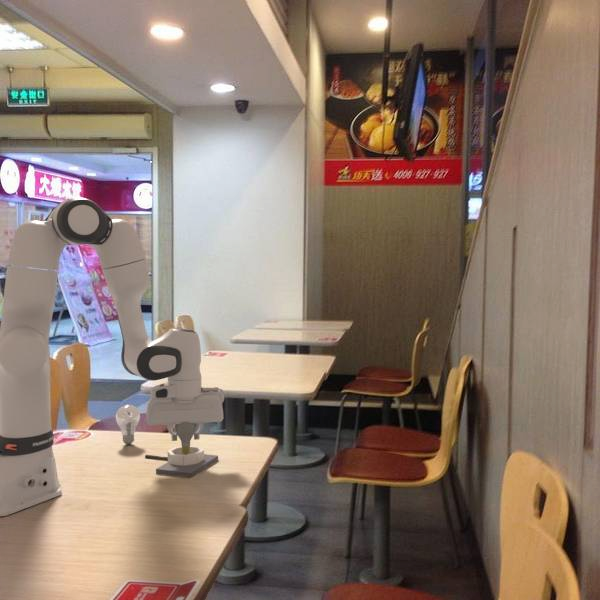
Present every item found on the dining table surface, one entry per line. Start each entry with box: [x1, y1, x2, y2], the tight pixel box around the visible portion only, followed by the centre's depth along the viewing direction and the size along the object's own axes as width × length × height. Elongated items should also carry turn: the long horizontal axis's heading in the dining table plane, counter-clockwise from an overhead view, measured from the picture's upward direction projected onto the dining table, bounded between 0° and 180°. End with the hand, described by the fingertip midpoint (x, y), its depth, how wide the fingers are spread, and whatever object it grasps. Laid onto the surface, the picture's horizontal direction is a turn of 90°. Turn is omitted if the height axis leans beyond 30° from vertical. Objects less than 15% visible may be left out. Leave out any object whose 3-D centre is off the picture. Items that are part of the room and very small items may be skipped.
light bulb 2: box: [174, 422, 197, 455], centre depth 166 cm, size 6×6×10 cm
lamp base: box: [144, 445, 219, 479], centre depth 166 cm, size 15×20×4 cm
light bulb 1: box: [115, 404, 141, 446], centre depth 185 cm, size 7×7×12 cm
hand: (185, 439), depth 166 cm, fingers closed on light bulb 2, 4 cm apart
